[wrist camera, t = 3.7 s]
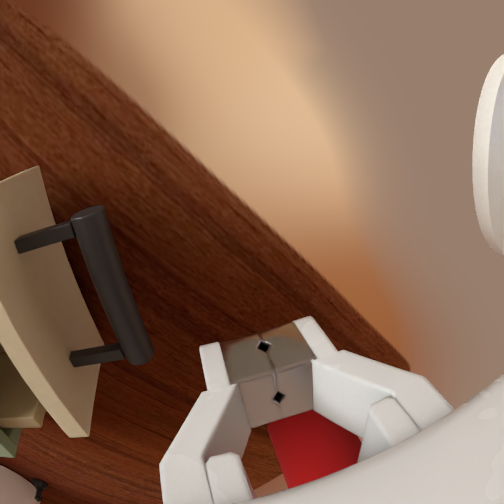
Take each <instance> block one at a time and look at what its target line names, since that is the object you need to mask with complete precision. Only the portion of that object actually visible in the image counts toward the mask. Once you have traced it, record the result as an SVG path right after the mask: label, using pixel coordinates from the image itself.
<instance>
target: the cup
mask: <svg viewBox="0 0 504 504" xmlns="http://www.w3.org/2000/svg"><path fill="white" fill-rule="evenodd" d="M35 492H36V488H35V486H34V485H32V484H31V483H30V482H29V481H27V480H26V479H25V478H23V477H22V476H20V475H18V474H17V473H15V472H13V471H11V470H10V469H8V468H6V467H4V466H2V465H0V504H40V502H37V501H36V499H35V495H36V493H35ZM40 497H41V496H40Z"/></svg>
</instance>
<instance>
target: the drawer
mask: <svg viewBox="0 0 504 504" xmlns="http://www.w3.org/2000/svg"><path fill="white" fill-rule="evenodd" d="M75 237H77V240H78V243H79V246H80V249H81V252H82V255H83V258H84V260H85V263H86V266H87V269H88V271H89V274H90V277H91V279H92V282H93V284H94V287H95V289H96V292H97V294H98V297H99V299H100V302H101V304H102V306H103V309H104V311H105V313H106V316H107V318H108V320H109V323H110V325H111V327H112V329H113V331H114V334H115V336H116V338H117V340H118V343H113V344H108V345H104V342H103V340H102V338H101V336H100V334H99V332H98V330H97V328H96V326H95V323H94V321H93V319H92V317H91V315H90V313H89V310H88V308H87V306H86V303H85V301H84V299H83V297H82V294H81V292H80V289H79V287H78V284H77V282H76V280H75V277H74V274H73V272H72V269H71V267H70V264H69V261H68V259H67V256H66V253H65V250H64V248H63V245H62V241H65V240H69V239H72V238H75ZM154 352H155V351H154V348H153V345H152V343H151V340H150V338H149V336H148V333H147V331H146V328H145V326H144V323H143V321H142V318H141V315H140V313H139V310H138V308H137V305H136V302H135V300H134V297H133V294H132V291H131V289H130V286H129V283H128V280H127V277H126V274H125V272H124V269H123V266H122V263H121V260H120V257H119V253H118V250H117V247H116V244H115V241H114V238H113V234H112V231H111V228H110V224H109V221H108V217H107V214H106V210H105V207H104V206H103V205H97V206H92V207H89V208H86V209H83V210H81V211H79V212H77V213H75V214H74V215H73V216H72V217H71V220H69V221H65V222H62V223H59V224H55V221H54V218H53V214H52V211H51V208H50V204H49V201H48V197H47V194H46V190H45V187H44V183H43V179H42V175H41V171H40V167H39V166H36V167H33V168H31V169H28V170H26V171H23V172H21V173H18V174H16V175H14V176H11V177H9V178H7V179H5V180H2V181H0V428H34V427H42V424H43V420H44V416H45V412H46V410H47V411H48V413H49V414H50V415H51V416H52V418H53V419H54V420H55V421H56V422H57V424H58V425H59V426H60V427H61V428H62V430H63V431H64V432H65V433H66V434H67V435H68V437H70V438H74V437H88V436H89V435H90V427H91V419H92V412H93V405H94V399H95V392H96V386H97V381H98V375H99V369H100V364H101V363H105V362H111V361H116V360H122V359H125V357H126V359H127V361H128V362H129V363H131V364H133V365H142V364H145V363H147V362H148V361H150V360H151V359H152V358H153V356H154Z"/></svg>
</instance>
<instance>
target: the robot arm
mask: <svg viewBox="0 0 504 504" xmlns="http://www.w3.org/2000/svg"><path fill="white" fill-rule="evenodd" d="M219 343H220V344H219ZM220 347H221V348H220ZM199 350H200V356H201V361H202V366H203V371H204V376H205V381H206V386H207V391H204V392H201V394H200V396H199V398H198V399H197V401H196V403H195V404H194V406H193V408H192V410H191V411H190V413H189V415H188V416H187V418H186V420H185V422H184V423H183V425H182V427H181V428H180V430H179V432H178V433H177V435H176V437H175V438H174V440H173V442H172V444H171V445H170V447H169V449H168V450H167V452H166V454H165V455H164V457H163V459H162V460H161V462H160V464H159V468H160V479H161V489H162V498H163V504H504V374H503V375H502V376H500V377H499V378H498V379H497V380H495V381H494V382H493V383H491V384H490V385H489V386H487V387H486V388H485V389H484V390H482V391H481V392H480V393H478V394H477V395H475V396H474V397H473V398H471V399H470V400H468V401H467V402H465V403H464V404H463V405H461V406H460V407H458V408H457V409H455V410H454V408H453V407H451V405H450V404H449V403H448V402H447V401H446V399H445V398H444V397H443V396H442V395H441V394H440V393H439V392H438V391H437V390H436V389H435V387H434V386H433V385H432V384H431V383H430V382H429V381H428V380H427V379H426V378H425V377H424V376H421V375H418V374H415V373H411V372H408V371H405V370H402V369H399V368H396V367H393V366H390V365H387V364H384V363H381V362H378V361H375V360H372V359H369V358H366V357H363V356H360V355H357V354H354V353H352V352H349V351H346V350H341V351H339V352H338V350H337V349H336V348H335V346H334V345H333V344H332V342H331V341H330V340H329V338H328V337H327V336H326V334H325V333H324V332H323V330H322V329H321V328H320V326H319V325H318V324H317V322H316V321H315V320H314V318H313V317H311V316H307V317H304V318H301V319H298V320H295V321H292V322H291V323H287V324H284V325H281V326H277V327H274V328H270V329H267V330H263V331H260V332H256V333H252V334H247V335H243V336H239V337H235V338H231V339H227V340H222V341H219V342H215V343H210V344H206V345H202V346H200V349H199ZM222 354H223V355H222ZM224 361H225V362H224ZM226 368H227V369H226ZM312 409H314V411H316V412H317V413H319V414H321V415H322V416H324V417H326V418H327V419H329V420H331V421H332V422H334V423H336V424H338V425H339V426H341V427H343V428H345V429H346V430H348V431H350V432H352V433H353V434H355V435H357V436H359V437H361V438H362V439H363V440H362V444H361V449H360V453H359V457H358V461H357V462H358V463H356V464H354V465H351V466H349V467H347V468H344V469H342V470H339V471H337V472H334V473H332V474H329V475H327V476H324V477H322V478H319V479H316V480H313V481H311V482H308V483H305V484H302V485H299V486H296V487H293V488H290V489H287V490H283V491H280V492H277V493H273V494H270V495H266V496H262V497H259V498H257V497H256V495H255V493H254V490H253V488H252V486H251V483H250V481H249V478H248V476H247V474H246V471H245V469H244V466H243V464H242V461H241V460H242V457H243V454H244V451H245V448H246V445H247V442H248V438H249V435H250V432H251V428H254V427H258V426H261V425H264V424H267V423H270V422H273V421H276V420H279V419H282V418H286V417H289V416H293V415H296V414H299V413H302V412H306V411H309V410H312Z"/></svg>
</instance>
